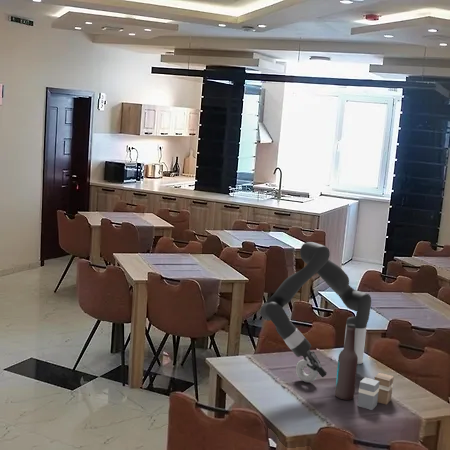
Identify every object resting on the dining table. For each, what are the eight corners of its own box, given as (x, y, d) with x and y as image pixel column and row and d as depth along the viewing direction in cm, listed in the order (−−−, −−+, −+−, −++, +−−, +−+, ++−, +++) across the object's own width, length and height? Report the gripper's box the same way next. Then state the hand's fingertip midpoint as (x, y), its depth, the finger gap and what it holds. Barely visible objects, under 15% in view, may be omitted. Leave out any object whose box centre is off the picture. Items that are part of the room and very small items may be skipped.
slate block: (362, 400, 272) (364, 377, 270) (377, 405, 269) (379, 381, 267) (356, 405, 267) (359, 381, 265) (372, 410, 264) (374, 385, 262)
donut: (293, 379, 288) (295, 357, 287) (296, 377, 291) (299, 355, 290) (314, 386, 283) (316, 363, 282) (318, 383, 286) (320, 361, 284)
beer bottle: (340, 391, 280) (347, 320, 276) (357, 396, 275) (364, 325, 271) (331, 396, 274) (338, 324, 270) (348, 401, 269) (355, 328, 265)
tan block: (376, 395, 278) (379, 372, 277) (391, 399, 275) (394, 376, 274) (371, 400, 273) (374, 376, 271) (386, 404, 270) (389, 380, 268)
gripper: (303, 342, 267) (331, 376, 267) (305, 332, 280) (332, 364, 280) (288, 353, 269) (316, 387, 269) (291, 342, 282) (318, 374, 282)
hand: (324, 375), depth 275 cm, fingers closed
